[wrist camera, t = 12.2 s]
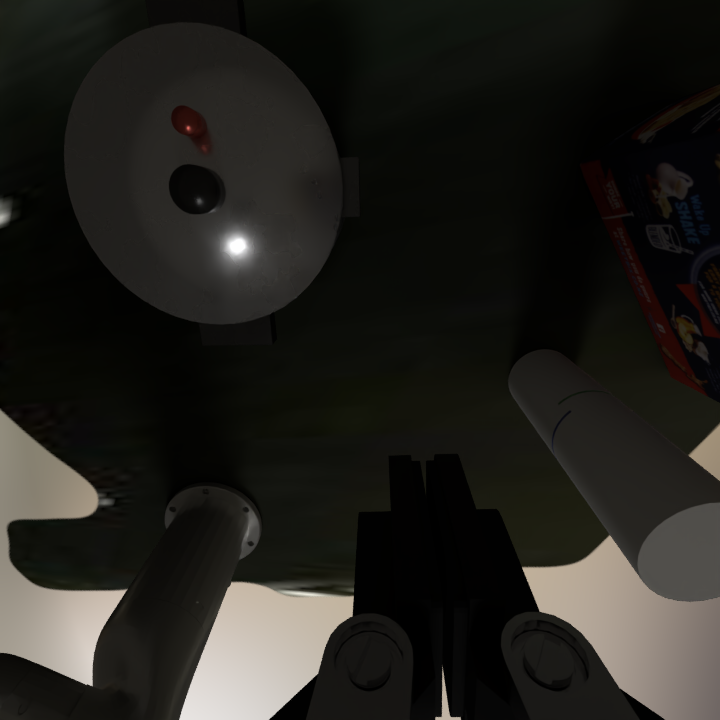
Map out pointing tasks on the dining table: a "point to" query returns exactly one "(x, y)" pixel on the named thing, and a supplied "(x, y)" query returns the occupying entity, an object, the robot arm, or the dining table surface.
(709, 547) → the cylindrical container
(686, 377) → the cereal box
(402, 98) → the dining table surface
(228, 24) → the cooker pot
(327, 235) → the cooker lid
